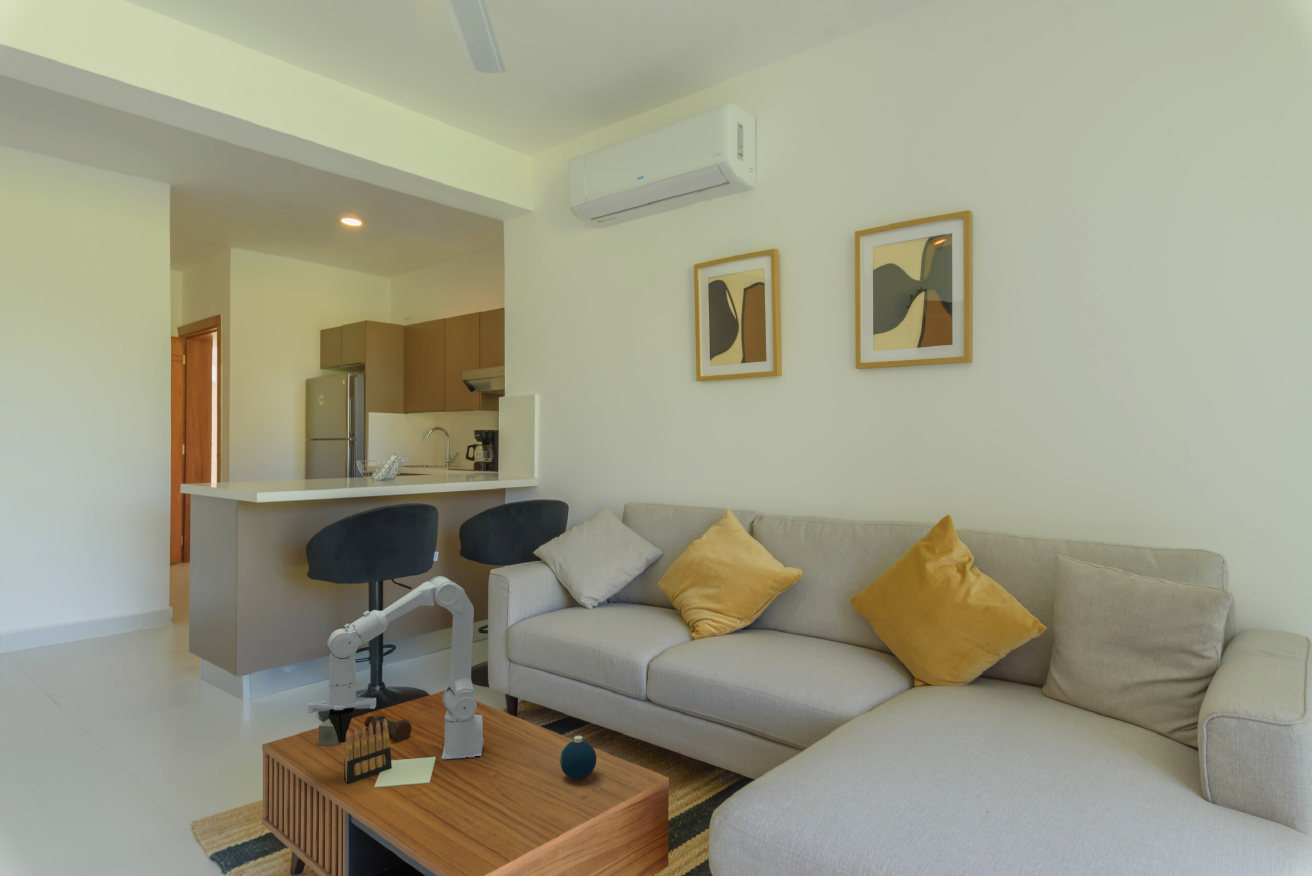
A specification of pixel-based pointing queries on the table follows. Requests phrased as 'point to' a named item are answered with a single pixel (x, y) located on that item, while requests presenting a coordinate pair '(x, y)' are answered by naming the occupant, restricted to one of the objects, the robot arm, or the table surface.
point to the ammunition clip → (367, 753)
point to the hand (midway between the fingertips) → (342, 741)
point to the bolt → (391, 727)
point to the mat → (407, 772)
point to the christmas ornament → (578, 759)
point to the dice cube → (327, 734)
